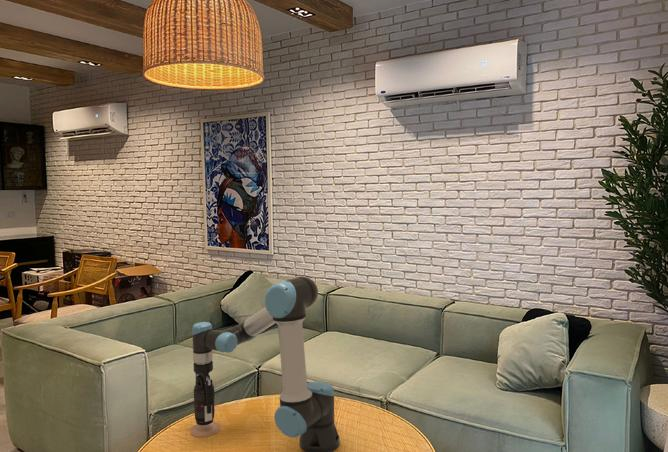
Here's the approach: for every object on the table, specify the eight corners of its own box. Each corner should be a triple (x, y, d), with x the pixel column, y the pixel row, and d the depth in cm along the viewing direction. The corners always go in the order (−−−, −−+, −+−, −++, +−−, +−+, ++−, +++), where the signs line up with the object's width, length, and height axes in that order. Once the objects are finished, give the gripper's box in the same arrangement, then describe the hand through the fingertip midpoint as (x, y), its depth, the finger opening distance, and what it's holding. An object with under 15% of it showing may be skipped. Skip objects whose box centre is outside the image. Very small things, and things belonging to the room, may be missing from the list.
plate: (225, 431, 200) (225, 429, 200) (195, 440, 194) (195, 438, 194) (214, 420, 210) (214, 418, 210) (186, 428, 204) (186, 426, 204)
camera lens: (212, 426, 198) (211, 389, 196) (192, 426, 198) (190, 389, 197) (217, 417, 206) (216, 381, 205) (198, 417, 206) (196, 381, 205)
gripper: (221, 366, 193) (223, 423, 195) (203, 352, 211) (205, 405, 212) (202, 371, 189) (204, 429, 191) (186, 356, 206) (187, 409, 208)
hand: (204, 416), depth 202 cm, fingers closed on camera lens, 8 cm apart
